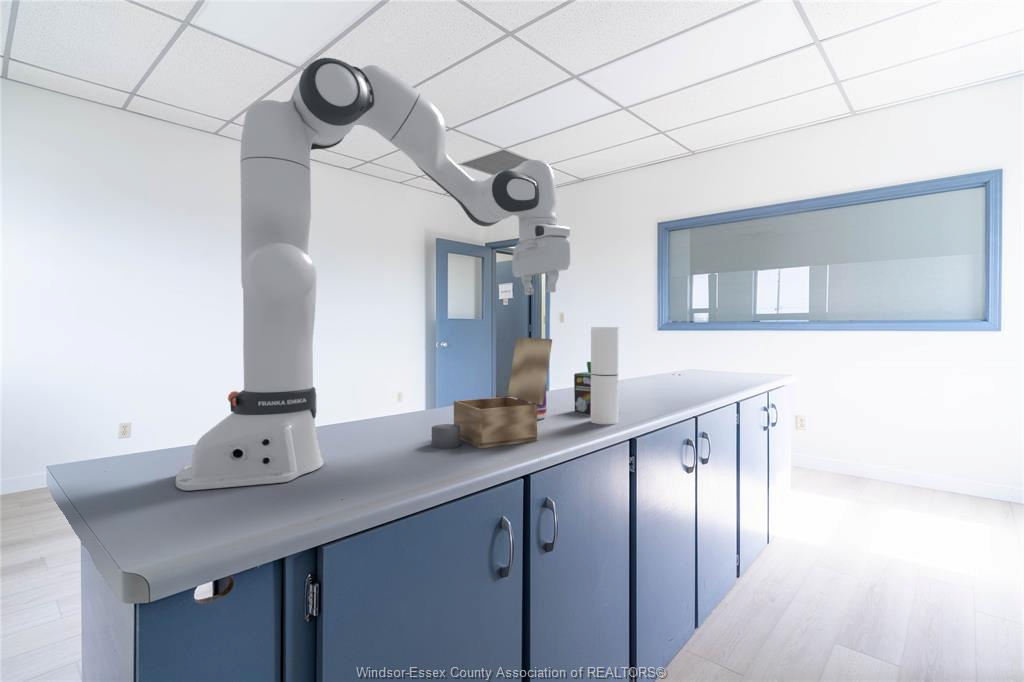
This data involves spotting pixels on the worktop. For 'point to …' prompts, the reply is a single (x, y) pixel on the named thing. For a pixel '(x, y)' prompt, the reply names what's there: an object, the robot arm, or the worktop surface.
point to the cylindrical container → (604, 374)
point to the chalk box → (583, 390)
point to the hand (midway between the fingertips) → (539, 293)
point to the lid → (530, 369)
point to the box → (496, 421)
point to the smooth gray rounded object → (445, 436)
